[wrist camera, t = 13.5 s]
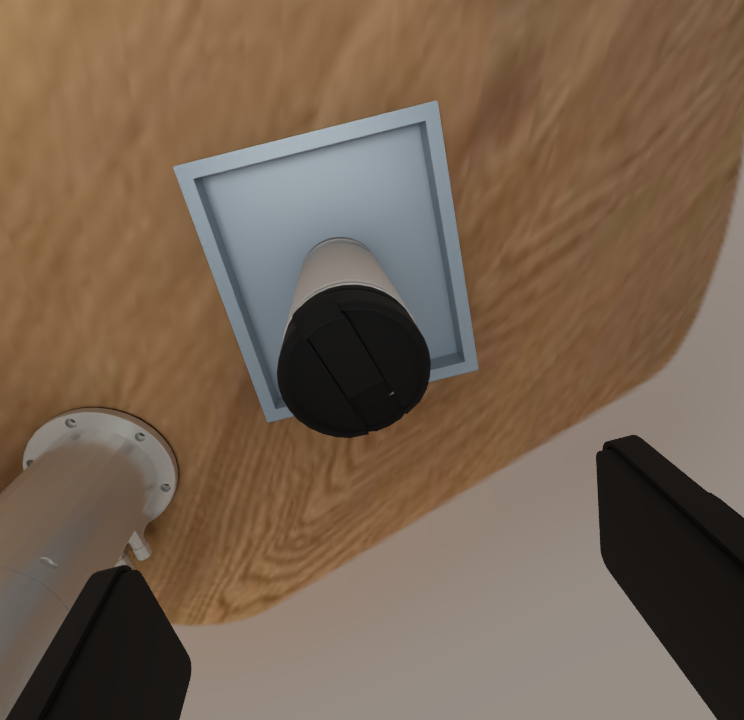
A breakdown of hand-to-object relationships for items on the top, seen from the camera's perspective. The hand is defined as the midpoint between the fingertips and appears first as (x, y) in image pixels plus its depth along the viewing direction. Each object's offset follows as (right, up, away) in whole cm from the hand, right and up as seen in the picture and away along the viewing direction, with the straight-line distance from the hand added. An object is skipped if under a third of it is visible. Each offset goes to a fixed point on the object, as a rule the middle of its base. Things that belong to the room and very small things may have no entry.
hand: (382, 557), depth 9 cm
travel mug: (-3, +11, +27) cm, 29 cm away
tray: (-3, +11, +28) cm, 30 cm away
